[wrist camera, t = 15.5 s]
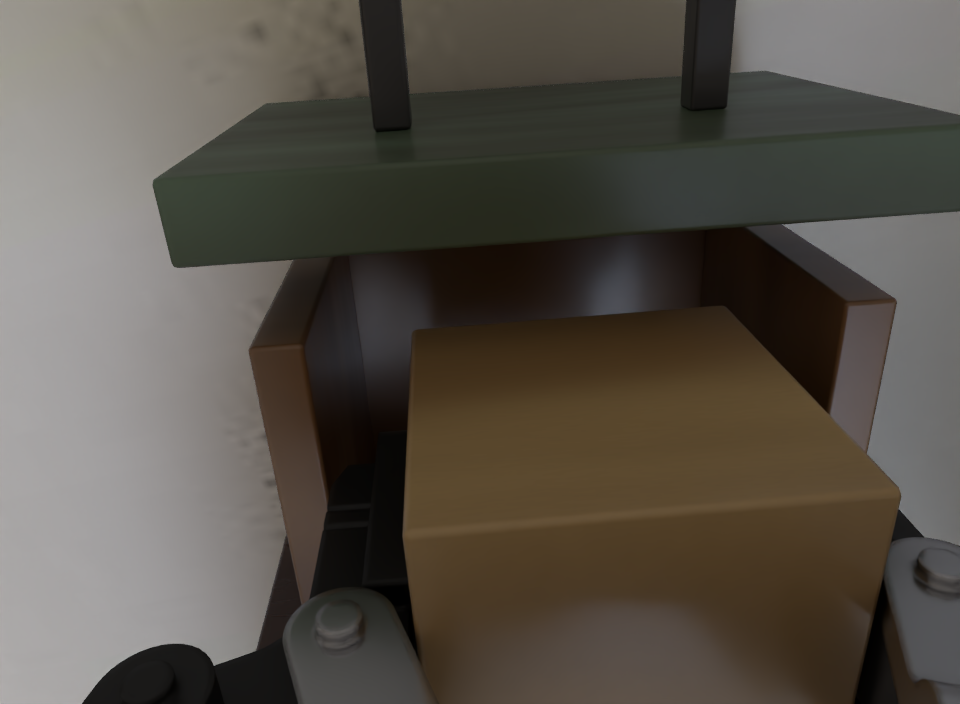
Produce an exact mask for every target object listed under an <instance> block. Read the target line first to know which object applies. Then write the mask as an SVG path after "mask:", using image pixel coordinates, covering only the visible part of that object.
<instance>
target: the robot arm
mask: <svg viewBox="0 0 960 704" xmlns="http://www.w3.org/2000/svg"><path fill="white" fill-rule="evenodd" d="M406 446H407V430H401V431H389V432H379V434H378V441H377V450H376V459H375V463H370V464H358V465H348V466H347V467H346V468H345V470H344V471H343V472H342V473H341V474H340V476H339V477H338V478H337V479H336V480H335V482H334V483H333V484H332V485H331V490H330V495H329V500H328V505H327V512H326V516H325V521H324V531H322V536H321V541H320V547H319V552H318V557H317V562H316V567H315V572H314V578H313V583H312V588H311V593H310V598H309V600H308V601H306V602H305V603H304V604H302V605H301V606H300V607H299V608H298V609H297V610H296V611H295V612H294V613H293V614H292V616H291V617H290V618H289V620H288V622H287V624H286V626H285V629H284V632H283V636H282V637H281V638H280V639H278V640H277V641H275V642H274V643H272V644H270V645H268V646H266V647H264V648H262V649H260V650H257V651H255V652H252V653H249V654H247V655H244V656H241V657H238V658H235V659H232V660H229V661H227V662H224V663H221V664H218V665H215V666H213V663H212V661H211V659H210V658H209V657H208V655H207V654H206V653H205V652H203V651H202V650H200V649H199V648H196V647H194V646H190V645H185V644H167V645H160V646H156V647H152V648H149V649H146V650H143V651H141V652H139V653H137V654H134V655H132V656H130V657H129V658H127V659H125V660H124V661H122V662H120V663H119V664H118V665H116V666H115V667H114V668H112V669H111V670H110V671H109V672H108V673H107V674H106V675H105V676H104V677H103V678H102V679H101V680H100V681H99V682H98V683H97V685H96V686H95V687H94V688H93V690H92V691H91V692H90V694H89V695H88V696H87V698H86V699H85V700H84V702H83V703H82V704H439V702H438V700H437V697H436V695H435V693H434V691H433V689H432V687H431V685H430V683H429V680H428V678H427V676H426V674H425V672H424V670H423V668H422V666H421V663H420V661H419V659H418V654H417V646H416V638H415V630H414V623H413V615H412V607H411V599H410V592H409V584H408V576H407V568H406V560H405V553H404V545H403V537H402V532H403V511H404V489H405V467H406ZM854 704H960V546H958V545H955V544H952V543H950V542H946V541H942V540H938V539H932V538H924V536H923V535H922V534H921V533H920V532H919V531H918V530H917V529H916V528H915V527H914V525H913V524H912V523H911V522H910V521H909V520H908V519H907V518H906V517H905V516H904V515H903V513H902V512H901V511H900V510H899V509H898V513H897V517H896V522H895V526H894V531H893V535H892V540H891V544H890V548H889V553H888V557H887V562H886V566H885V570H884V575H883V579H882V584H881V588H880V592H879V597H878V601H877V606H876V610H875V614H874V619H873V623H872V628H871V632H870V637H869V641H868V645H867V650H866V654H865V659H864V663H863V667H862V672H861V676H860V681H859V685H858V689H857V694H856V698H855V703H854Z"/></svg>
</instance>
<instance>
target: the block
mask: <svg viewBox="0 0 960 704" xmlns="http://www.w3.org/2000/svg"><path fill="white" fill-rule="evenodd" d="M900 500H901V493H900V490H899V487H898V486H897V485H896V484H895V483H894V482H893V481H892V480H891V479H890V478H889V477H888V476H887V475H886V474H885V473H884V472H883V470H882V469H881V468H880V467H879V466H878V465H877V464H876V463H875V462H874V461H873V460H872V459H871V458H870V457H869V456H868V455H867V454H866V453H865V452H864V451H863V450H862V449H861V447H860V446H859V445H858V444H857V443H856V442H855V441H854V440H853V439H852V438H851V437H850V436H849V435H848V434H847V433H846V432H845V431H844V430H843V429H842V428H841V427H840V425H839V424H838V423H837V422H836V421H835V420H834V419H833V418H832V417H831V416H830V415H829V414H828V413H827V412H826V411H825V410H824V409H823V408H822V407H821V406H820V405H819V404H818V402H817V401H816V400H815V399H814V398H813V397H812V396H811V395H810V394H809V393H808V392H807V391H806V390H805V389H804V388H803V387H802V386H801V385H800V384H799V383H798V382H797V380H796V379H795V378H794V377H793V376H792V375H791V374H790V373H789V372H788V371H787V370H786V369H785V368H784V367H783V366H782V365H781V364H780V363H779V362H778V361H777V360H776V359H775V357H774V356H773V355H772V354H771V353H770V352H769V351H768V350H767V349H766V348H765V347H764V346H763V345H762V344H761V343H760V342H759V341H758V340H757V339H756V338H755V337H754V335H753V334H752V333H751V332H750V331H749V330H748V329H747V328H746V327H745V326H744V325H743V324H742V323H741V322H740V321H739V320H738V319H737V318H736V317H735V316H734V315H733V314H732V312H731V311H730V310H729V309H728V308H727V307H725V306H710V307H697V308H684V309H671V310H659V311H646V312H633V313H620V314H607V315H595V316H582V317H569V318H556V319H543V320H531V321H518V322H505V323H492V324H479V325H467V326H454V327H441V328H428V329H417V330H414V331H413V333H412V337H411V359H410V381H409V402H408V424H407V446H406V467H405V489H404V511H403V532H402V537H403V545H404V553H405V560H406V568H407V576H408V584H409V592H410V599H411V607H412V615H413V623H414V630H415V638H416V646H417V654H418V659H419V661H420V663H421V666H422V668H423V670H424V672H425V674H426V676H427V678H428V680H429V683H430V685H431V687H432V689H433V691H434V693H435V695H436V697H437V700H438V702H439V704H854V703H855V698H856V694H857V689H858V685H859V681H860V676H861V672H862V667H863V663H864V659H865V654H866V650H867V645H868V641H869V637H870V632H871V628H872V623H873V619H874V614H875V610H876V606H877V601H878V597H879V592H880V588H881V584H882V579H883V575H884V570H885V566H886V562H887V557H888V553H889V548H890V544H891V540H892V535H893V531H894V526H895V522H896V517H897V513H898V509H899V504H900Z"/></svg>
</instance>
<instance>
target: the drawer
mask: <svg viewBox="0 0 960 704" xmlns="http://www.w3.org/2000/svg"><path fill="white" fill-rule="evenodd" d="M359 7H360V16H361V25H362V34H363V42H364V51H365V60H366V69H367V78H368V87H369V95H370V97H358V98H343V99H328V100H313V101H297V102H282V103H267V104H265V105H263V106H262V107H260V108H259V109H257V110H256V111H254V112H253V113H251V114H250V115H248V116H247V117H245V118H244V119H243V120H241V121H240V122H238V123H237V124H235V125H234V126H232V127H231V128H229V129H228V130H226V131H225V132H223V133H222V134H220V135H219V136H217V137H216V138H215V139H213V140H212V141H210V142H209V143H207V144H206V145H204V146H203V147H201V148H200V149H198V150H197V151H195V152H194V153H192V154H191V155H190V156H188V157H187V158H185V159H184V160H182V161H181V162H179V163H178V164H176V165H175V166H173V167H172V168H170V169H169V170H167V171H166V172H164V173H163V174H162V175H160V176H159V177H157V178H156V179H154V180H153V189H154V193H155V197H156V201H157V205H158V209H159V213H160V217H161V221H162V226H163V230H164V234H165V238H166V242H167V246H168V250H169V254H170V258H171V262H172V264H173V266H174V267H177V268H185V267H199V266H212V265H226V264H240V263H254V262H267V261H281V260H293V262H292V264H291V266H290V268H289V270H288V272H287V274H286V276H285V278H284V280H283V282H282V284H281V286H280V288H279V290H278V292H277V294H276V296H275V298H274V300H273V302H272V304H271V306H270V308H269V310H268V312H267V314H266V316H265V318H264V320H263V322H262V324H261V326H260V328H259V330H258V332H257V334H256V336H255V338H254V340H253V342H252V344H251V346H250V348H249V356H250V361H251V366H252V370H253V375H254V380H255V385H256V389H257V394H258V399H259V404H260V409H261V413H262V418H263V423H264V428H265V432H266V437H267V442H268V447H269V452H270V456H271V461H272V466H273V471H274V475H275V480H276V485H277V490H278V495H279V499H280V504H281V509H282V514H283V519H284V523H285V528H286V533H287V538H288V542H289V547H290V552H291V557H292V562H293V566H294V571H295V576H296V581H297V585H298V590H299V595H300V600H301V605H302V604H304V603H305V602H306V601H308V600H309V598H310V593H311V588H312V583H313V578H314V572H315V567H316V562H317V557H318V552H319V547H320V541H321V536H322V531H324V521H325V516H326V512H327V505H328V500H329V495H330V490H331V485H332V484H333V483H334V482H335V480H336V479H337V478H338V477H339V476H340V474H341V473H342V472H343V471H344V470H345V468H346V467H347V466H348V465H358V464H370V463H375V459H376V450H377V441H378V434H379V432H389V431H401V430H407V424H408V402H409V381H410V359H411V337H412V333H413V331H414V330H417V329H428V328H441V327H454V326H467V325H479V324H492V323H505V322H518V321H531V320H543V319H556V318H569V317H582V316H595V315H607V314H620V313H633V312H646V311H659V310H671V309H684V308H697V307H710V306H725V307H727V308H728V309H729V310H730V311H731V312H732V314H733V315H734V316H735V317H736V318H737V319H738V320H739V321H740V322H741V323H742V324H743V325H744V326H745V327H746V328H747V329H748V330H749V331H750V332H751V333H752V334H753V335H754V337H755V338H756V339H757V340H758V341H759V342H760V343H761V344H762V345H763V346H764V347H765V348H766V349H767V350H768V351H769V352H770V353H771V354H772V355H773V356H774V357H775V359H776V360H777V361H778V362H779V363H780V364H781V365H782V366H783V367H784V368H785V369H786V370H787V371H788V372H789V373H790V374H791V375H792V376H793V377H794V378H795V379H796V380H797V382H798V383H799V384H800V385H801V386H802V387H803V388H804V389H805V390H806V391H807V392H808V393H809V394H810V395H811V396H812V397H813V398H814V399H815V400H816V401H817V402H818V404H819V405H820V406H821V407H822V408H823V409H824V410H825V411H826V412H827V413H828V414H829V415H830V416H831V417H832V418H833V419H834V420H835V421H836V422H837V423H838V424H839V425H840V427H841V428H842V429H843V430H844V431H845V432H846V433H847V434H848V435H849V436H850V437H851V438H852V439H853V440H854V441H855V442H856V443H857V444H858V445H859V446H860V447H861V449H862V450H863V451H864V452H865V453H866V454H867V450H868V445H869V440H870V435H871V429H872V424H873V419H874V414H875V409H876V404H877V399H878V394H879V389H880V384H881V379H882V374H883V369H884V364H885V359H886V354H887V349H888V344H889V339H890V334H891V329H892V324H893V319H894V314H895V309H896V304H897V301H896V299H895V298H894V297H892V296H891V295H889V294H888V293H886V292H885V291H883V290H881V289H880V288H878V287H877V286H875V285H874V284H872V283H871V282H869V281H868V280H866V279H865V278H863V277H862V276H860V275H858V274H857V273H855V272H854V271H852V270H851V269H849V268H848V267H846V266H845V265H843V264H842V263H840V262H838V261H837V260H835V259H834V258H832V257H831V256H829V255H828V254H826V253H825V252H823V251H822V250H820V249H818V248H817V247H815V246H814V245H812V244H811V243H809V242H808V241H806V240H805V239H803V238H802V237H800V236H798V235H797V234H795V233H794V232H792V231H791V230H789V229H788V228H786V227H785V226H783V225H782V224H792V223H805V222H819V221H833V220H847V219H861V218H874V217H888V216H902V215H916V214H930V213H943V212H957V211H960V115H958V114H953V113H949V112H944V111H940V110H936V109H931V108H927V107H922V106H918V105H914V104H909V103H905V102H900V101H896V100H892V99H887V98H883V97H878V96H874V95H869V94H865V93H861V92H856V91H852V90H847V89H843V88H839V87H834V86H830V85H825V84H821V83H817V82H812V81H808V80H803V79H799V78H795V77H790V76H786V75H781V74H777V73H773V72H768V71H755V72H740V73H730V66H731V54H732V42H733V30H734V18H735V7H736V0H686V16H685V33H684V50H683V67H682V76H679V77H664V78H648V79H633V80H618V81H603V82H587V83H572V84H557V85H542V86H526V87H511V88H496V89H481V90H465V91H450V92H435V93H420V94H410V92H409V81H408V70H407V59H406V48H405V37H404V26H403V15H402V4H401V0H359Z"/></svg>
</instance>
